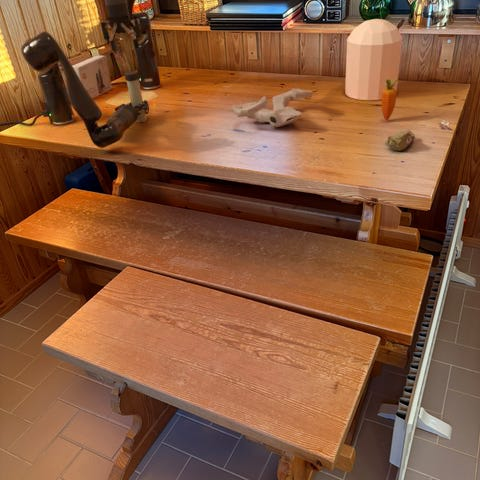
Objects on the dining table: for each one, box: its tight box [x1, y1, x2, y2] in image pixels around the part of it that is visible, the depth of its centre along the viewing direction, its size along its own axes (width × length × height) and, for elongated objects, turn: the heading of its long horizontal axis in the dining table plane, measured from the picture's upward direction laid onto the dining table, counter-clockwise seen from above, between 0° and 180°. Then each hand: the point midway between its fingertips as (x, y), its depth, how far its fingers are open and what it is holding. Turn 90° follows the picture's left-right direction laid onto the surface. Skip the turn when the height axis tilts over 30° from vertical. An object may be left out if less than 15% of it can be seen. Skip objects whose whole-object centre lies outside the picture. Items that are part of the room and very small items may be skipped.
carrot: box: [380, 79, 398, 122], centre depth 161 cm, size 5×5×15 cm
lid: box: [123, 70, 139, 82], centre depth 178 cm, size 5×5×2 cm
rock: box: [387, 129, 416, 152], centre depth 146 cm, size 11×6×10 cm
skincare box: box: [72, 54, 113, 100], centre depth 218 cm, size 21×6×16 cm, turn 158°
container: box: [344, 18, 403, 101], centre depth 185 cm, size 21×21×28 cm
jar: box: [125, 79, 147, 123], centre depth 183 cm, size 5×5×18 cm
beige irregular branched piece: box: [231, 88, 314, 128], centre depth 171 cm, size 28×26×12 cm
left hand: (139, 102), depth 187 cm, fingers closed on jar, 4 cm apart
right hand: (126, 50), depth 173 cm, fingers open, 7 cm apart
